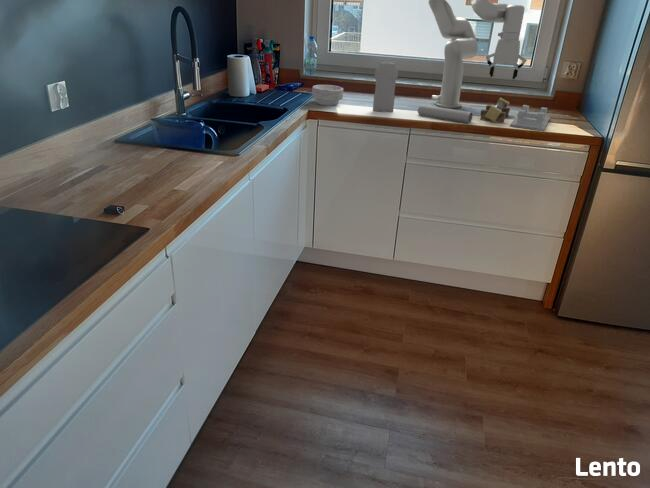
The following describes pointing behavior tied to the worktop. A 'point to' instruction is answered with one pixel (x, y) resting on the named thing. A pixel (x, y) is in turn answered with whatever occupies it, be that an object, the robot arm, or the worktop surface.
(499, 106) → the tan square beam
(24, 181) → the worktop surface
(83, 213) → the worktop surface
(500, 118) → the beam saddles
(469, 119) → the tube
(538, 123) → the v block stand
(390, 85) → the tall pale column
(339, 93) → the paper bowls
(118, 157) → the worktop surface
